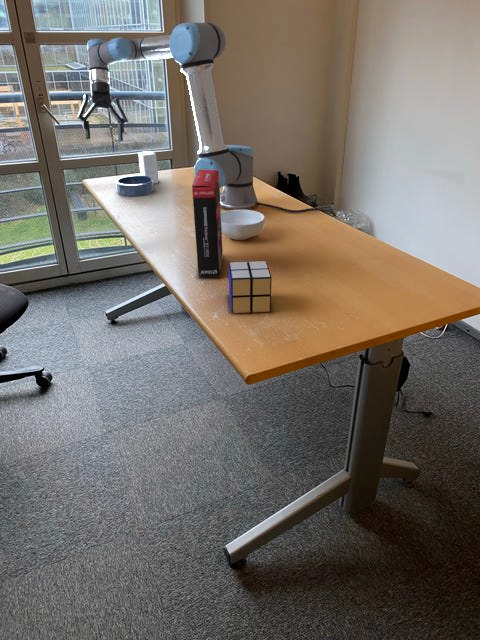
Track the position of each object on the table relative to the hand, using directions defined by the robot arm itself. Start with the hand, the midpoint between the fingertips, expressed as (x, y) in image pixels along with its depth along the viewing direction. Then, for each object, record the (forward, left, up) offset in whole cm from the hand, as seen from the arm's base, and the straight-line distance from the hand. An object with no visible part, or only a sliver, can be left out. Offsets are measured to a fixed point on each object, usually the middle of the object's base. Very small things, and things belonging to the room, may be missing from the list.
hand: (104, 140), depth 203 cm
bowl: (-6, -10, -23) cm, 26 cm away
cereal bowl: (-66, +28, -24) cm, 75 cm away
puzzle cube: (-83, +74, -24) cm, 113 cm away
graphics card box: (-65, +55, -24) cm, 88 cm away
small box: (-5, -26, -24) cm, 36 cm away
